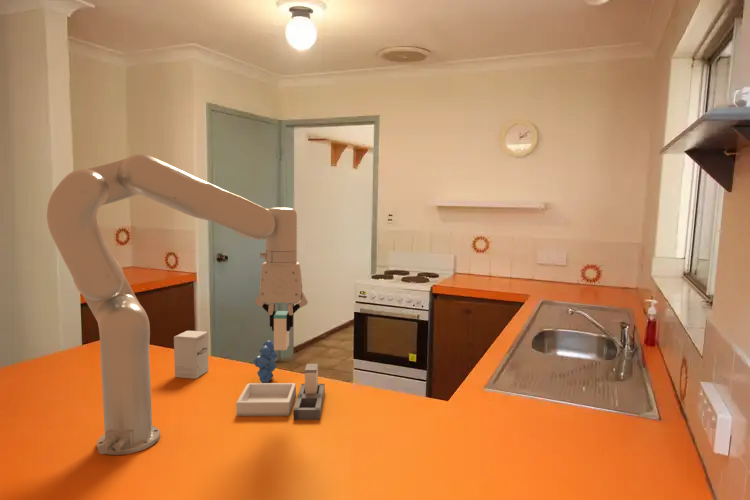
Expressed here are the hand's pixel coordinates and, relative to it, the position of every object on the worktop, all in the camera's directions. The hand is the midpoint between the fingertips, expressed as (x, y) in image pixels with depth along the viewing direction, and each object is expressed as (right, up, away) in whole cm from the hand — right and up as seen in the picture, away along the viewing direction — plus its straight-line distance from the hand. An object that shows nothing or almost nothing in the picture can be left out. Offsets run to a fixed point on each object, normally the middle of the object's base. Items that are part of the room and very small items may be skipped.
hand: (281, 328), depth 131 cm
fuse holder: (+7, -21, +4) cm, 22 cm away
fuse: (+7, -20, +9) cm, 23 cm away
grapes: (-9, -19, +21) cm, 30 cm away
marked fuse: (0, -5, +1) cm, 5 cm away
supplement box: (-32, -18, +27) cm, 45 cm away
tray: (-4, -21, +4) cm, 21 cm away
